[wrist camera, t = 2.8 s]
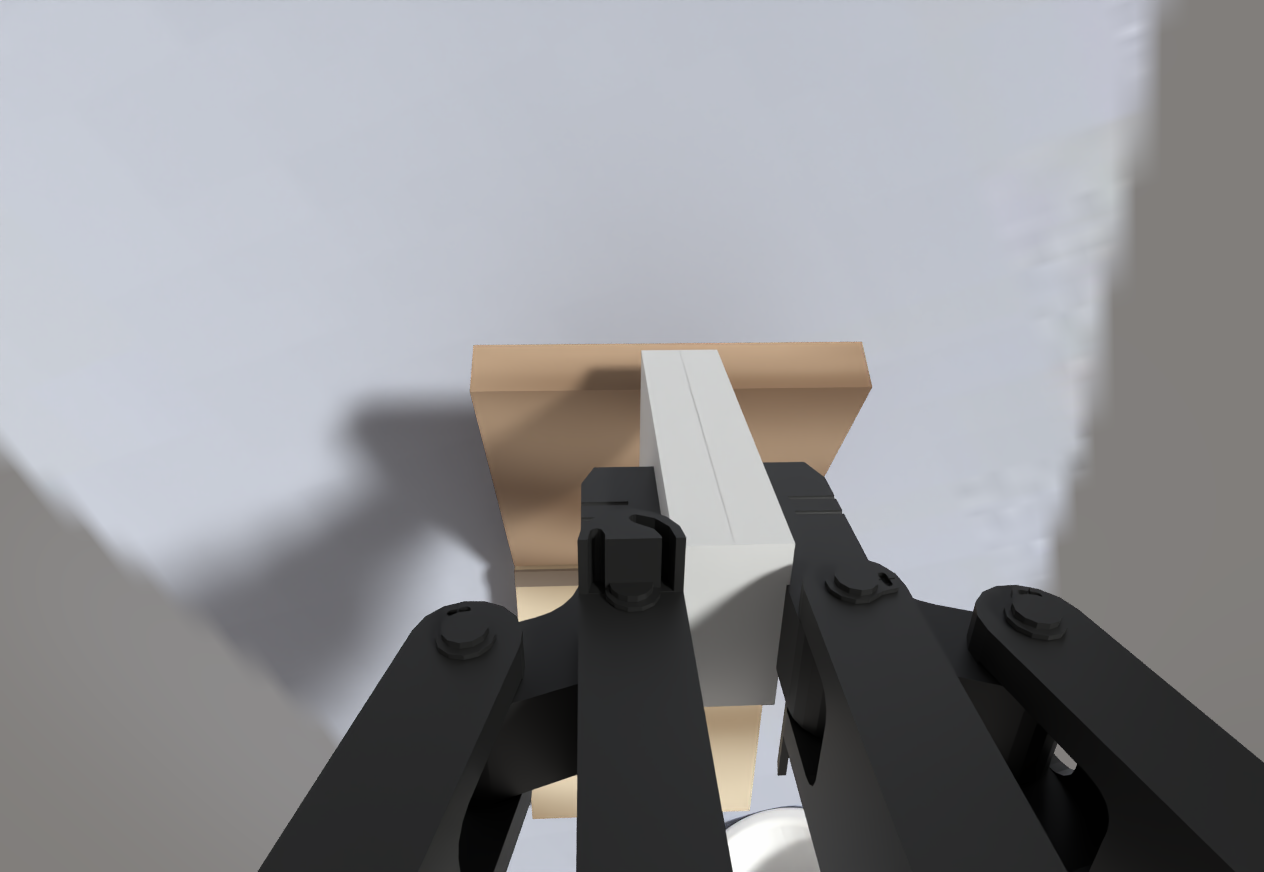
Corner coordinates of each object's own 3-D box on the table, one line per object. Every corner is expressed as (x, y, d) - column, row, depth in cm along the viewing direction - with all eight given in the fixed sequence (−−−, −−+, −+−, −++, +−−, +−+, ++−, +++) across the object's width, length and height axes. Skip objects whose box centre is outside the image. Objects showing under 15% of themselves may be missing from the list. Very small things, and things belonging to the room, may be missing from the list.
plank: (473, 345, 17) (470, 391, 16) (861, 342, 17) (872, 386, 17) (515, 531, 26) (514, 566, 25) (774, 525, 26) (779, 560, 25)
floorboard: (518, 543, 26) (514, 571, 25) (770, 538, 27) (779, 565, 25) (534, 787, 32) (532, 821, 31) (743, 780, 32) (750, 813, 31)
